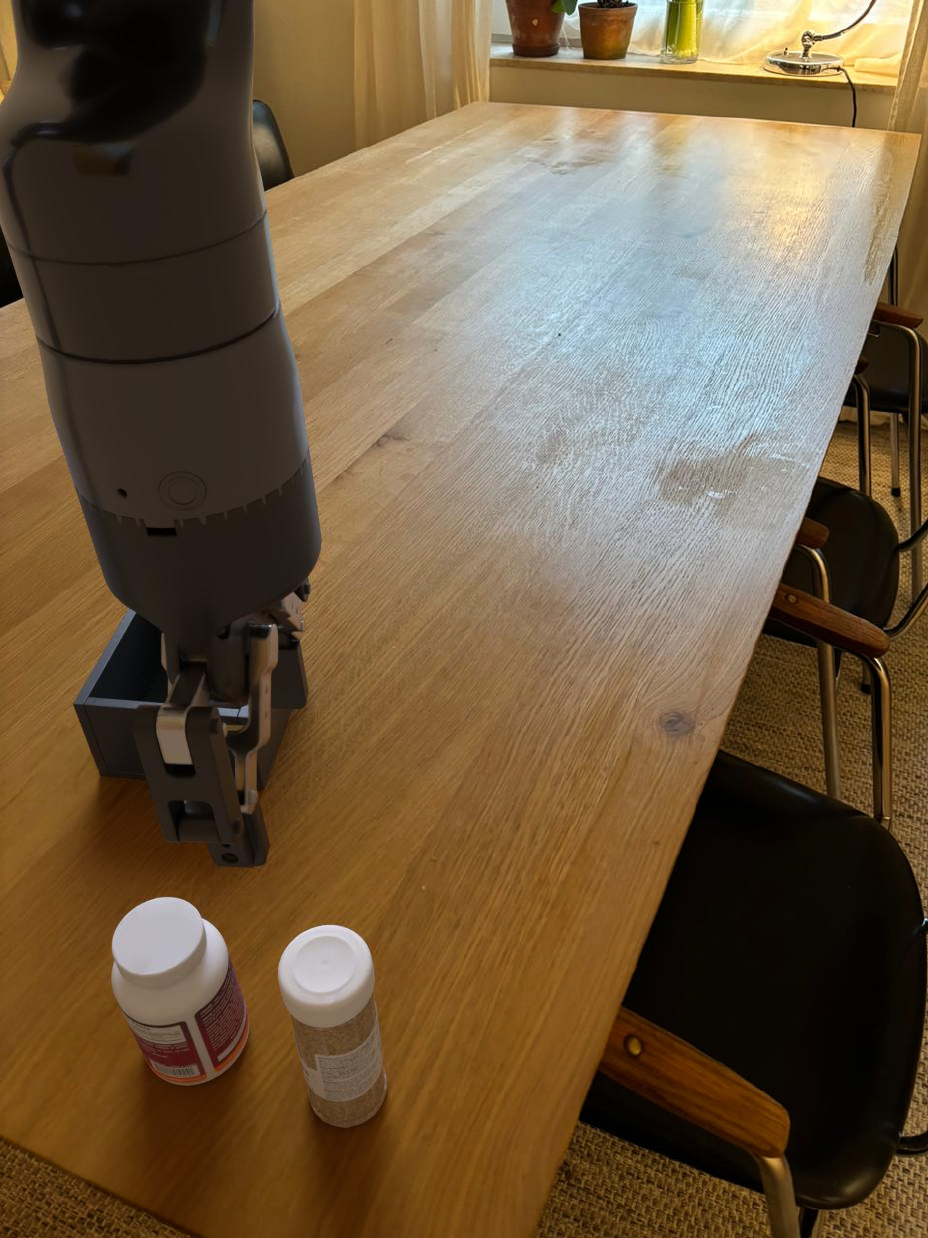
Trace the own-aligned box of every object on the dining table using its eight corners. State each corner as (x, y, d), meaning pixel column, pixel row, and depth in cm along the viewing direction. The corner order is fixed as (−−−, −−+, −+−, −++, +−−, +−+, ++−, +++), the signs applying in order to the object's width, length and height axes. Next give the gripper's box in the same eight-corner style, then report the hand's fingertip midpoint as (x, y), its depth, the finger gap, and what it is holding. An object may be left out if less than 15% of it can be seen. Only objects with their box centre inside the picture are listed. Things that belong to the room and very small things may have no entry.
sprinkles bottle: (306, 1057, 58) (275, 929, 49) (384, 1044, 58) (367, 914, 49) (310, 1139, 54) (277, 1016, 45) (393, 1124, 55) (376, 999, 46)
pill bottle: (228, 970, 62) (194, 864, 55) (267, 1052, 58) (237, 950, 51) (130, 1021, 59) (81, 918, 52) (164, 1111, 55) (117, 1012, 48)
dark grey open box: (99, 775, 74) (72, 704, 69) (158, 661, 83) (138, 590, 79) (263, 790, 73) (248, 718, 68) (304, 672, 82) (293, 601, 77)
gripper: (143, 346, 38) (220, 660, 48) (-18, 580, 27) (126, 918, 37) (340, 348, 37) (373, 664, 48) (256, 586, 26) (324, 927, 37)
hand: (265, 775), depth 42 cm, fingers open, 8 cm apart
